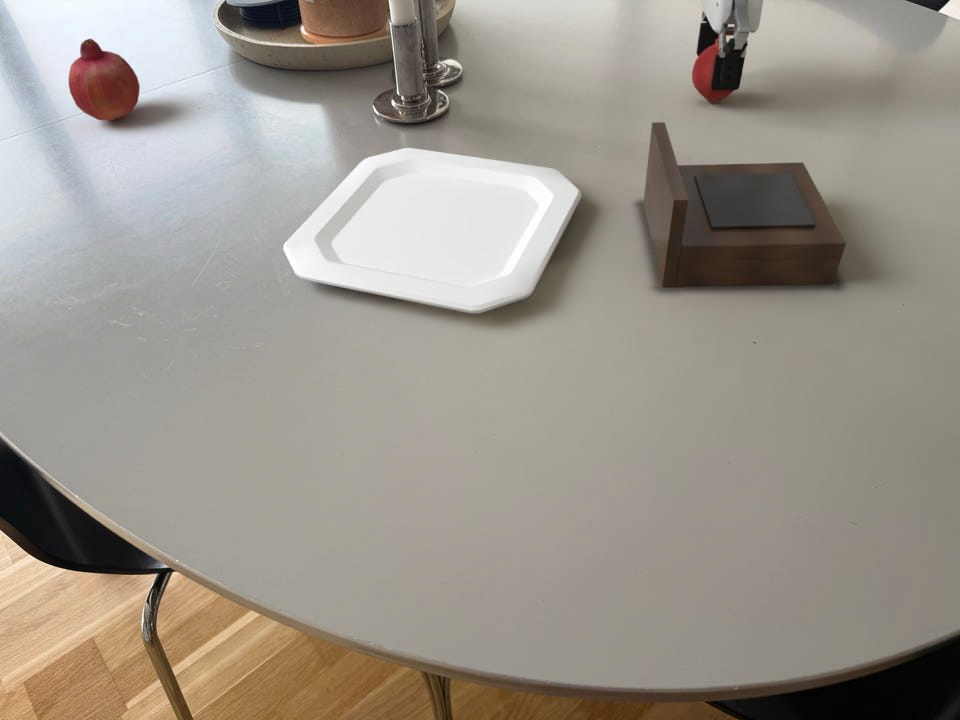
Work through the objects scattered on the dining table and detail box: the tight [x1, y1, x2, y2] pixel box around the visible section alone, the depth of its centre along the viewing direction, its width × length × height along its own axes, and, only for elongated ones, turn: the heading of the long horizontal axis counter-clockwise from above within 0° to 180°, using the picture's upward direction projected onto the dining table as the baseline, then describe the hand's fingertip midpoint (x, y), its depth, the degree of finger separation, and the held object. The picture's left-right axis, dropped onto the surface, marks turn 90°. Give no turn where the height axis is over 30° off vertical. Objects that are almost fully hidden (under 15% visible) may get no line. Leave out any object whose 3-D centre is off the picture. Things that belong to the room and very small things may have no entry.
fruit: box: [68, 38, 141, 121], centre depth 100 cm, size 8×8×10 cm
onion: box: [691, 38, 743, 104], centre depth 98 cm, size 6×6×8 cm
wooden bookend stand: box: [642, 121, 847, 288], centre depth 75 cm, size 15×14×9 cm
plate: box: [283, 147, 583, 314], centre depth 80 cm, size 25×25×2 cm
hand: (716, 71), depth 98 cm, fingers open, 9 cm apart
